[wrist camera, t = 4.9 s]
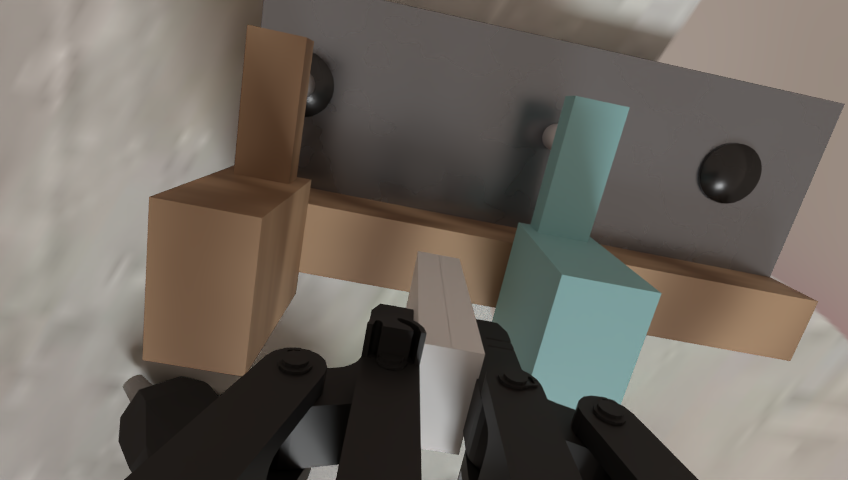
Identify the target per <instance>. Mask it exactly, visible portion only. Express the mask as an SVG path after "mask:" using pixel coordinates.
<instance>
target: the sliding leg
mask: <svg viewBox="0 0 848 480" xmlns="http://www.w3.org/2000/svg"><path fill="white" fill-rule="evenodd" d="M629 108H630V107H625V106H621V105H616V104H612V103H607V102H602V101H598V100H593V99H588V98H584V97H579V96H565V100H564V104H563V107H562V111H561V115H560V118H559V122H558V124H552V125H550V126H548V127H547V128H546V129H545V131H544V133H543V136H542V140H543V144H544V145H545V147H546V148H548V149H549V150H551V151H550V155H549V159H548V162H547V166H546V169H545V173H544V177H543V180H542V184H541V188H540V191H539V195H538V199H537V202H536V206H535V210H534V213H533V217H532V221H531V224H525V223H520V222H518V226H517V230H516V234H515V237H514V241H513V245H512V249H511V252H510V256H509V260H508V264H507V267H506V271H505V275H504V279H503V282H502V286H501V290H500V294H499V298H498V301H497V305H496V309H495V313H494V316H493V320H492V322H495V323H498V324H499V325H500V326H501V327H502V328H503V329H504V330H505V331H507V333H508V335H509V338H510V340H511V343H512V346H513V348H514V351H515V353H516V356H517V358H518V361H519V364H520V366H521V369H522V370H523V371H525V372H527V373H529V374H531V375H532V376H533V377H535V378H536V379H537V380H538V381H539V383H540V384H541V385H542V387H543V390H544V392H545V394H546V397H547V399H548V400H551V401H553V402H556V403H558V404H561V405H564V406H566V407H569V408H572V409H575V410H576V407H577V404H578V401H579V400H580V399H581V398H582V397H584V396H591V395H592V396H599V397H606V398H607V399H611V400H614V401H616V402H617V403H618V404H620V405H621V402H622V399H623V397H624V394H625V391H626V389H627V386H628V383H629V380H630V378H631V375H632V372H633V370H634V367H635V364H636V361H637V359H638V356H639V353H640V351H641V348H642V345H643V342H644V340H645V337H646V334H647V332H648V329H649V326H650V323H651V321H652V318H653V315H654V313H655V310H656V307H657V304H658V302H659V299H660V296H661V294H662V293H661V292H659V291H658V290H657V289H655V288H654V287H653V286H652V285H650V284H649V283H648V282H647V281H645V280H644V279H643V278H642V277H640V276H639V275H638V274H637V273H635V272H634V271H633V270H631V269H630V268H629V267H628V266H626V265H625V264H624V263H623V262H621V261H620V260H619V259H618V258H616V257H615V256H614V255H613V254H611V253H610V252H609V251H607V250H606V249H605V248H604V247H602V246H601V245H600V244H599V243H597V242H596V241H595V240H594V239H592V238H591V237H590V233H591V230H592V227H593V224H594V221H595V217H596V214H597V211H598V208H599V204H600V201H601V198H602V195H603V192H604V188H605V185H606V182H607V179H608V176H609V172H610V169H611V166H612V163H613V160H614V156H615V153H616V150H617V147H618V144H619V140H620V137H621V134H622V131H623V127H624V124H625V121H626V118H627V115H628V111H629Z"/></svg>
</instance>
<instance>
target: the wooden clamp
mask: <svg viewBox="0 0 848 480" xmlns="http://www.w3.org/2000/svg"><path fill="white" fill-rule="evenodd" d="M313 46H314V41H312V40H311V39H309V38H307V37H303V36H298V35H293V34H289V33H284V32H280V31H275V30H270V29H266V28H261V27H256V26H252V25H247V33H246V44H245V55H244V66H243V77H242V88H241V99H240V110H239V121H238V132H237V143H236V154H235V165H234V166H232V167H229V168H226V169H224V170H221V171H218V172H215V173H213V174H210V175H207V176H205V177H202V178H199V179H196V180H194V181H191V182H188V183H186V184H183V185H180V186H178V187H175V188H172V189H169V190H167V191H164V192H161V193H159V194H156V195H153V196H150V197H149V215H148V239H147V263H146V287H145V311H144V335H143V359H142V360H145V361H151V362H158V363H164V364H170V365H176V366H182V367H188V368H194V369H200V370H206V371H212V372H218V373H225V374H231V375H237V376H243V375H244V374H246V373H247V372H248V370H249V369H250V367H251V365H252V364H253V362H254V361H255V359H256V357H257V356H258V354H259V352H260V351H261V349H262V348H263V346H264V344H265V343H266V341H267V339H268V338H269V336H270V335H271V333H272V331H273V330H274V328H275V326H276V325H277V323H278V322H279V320H280V318H281V317H282V315H283V313H284V312H285V310H286V309H287V307H288V305H289V304H290V302H291V300H292V299H293V297H294V296H295V294H296V288H297V281H298V274H299V272H302V273H307V274H313V275H318V276H324V277H329V278H335V279H340V280H346V281H351V282H357V283H362V284H368V285H373V286H379V287H384V288H390V289H395V290H401V291H407V292H410V287H411V282H412V277H413V272H414V268H415V263H416V258H417V253H418V251H420V252H426V253H431V254H437V255H442V256H448V257H453V258H458V259H460V263H461V266H462V270H463V274H464V277H465V281H466V285H467V289H468V292H469V296H470V300H471V303H473V304H478V305H484V306H489V307H495V308H496V305H497V301H498V298H499V294H500V290H501V286H502V282H503V279H504V275H505V271H506V267H507V264H508V260H509V256H510V252H511V249H512V245H513V241H514V237H515V234H516V230H517V228H514V227H509V226H504V225H498V224H493V223H488V222H483V221H478V220H473V219H468V218H462V217H457V216H452V215H447V214H442V213H437V212H431V211H426V210H421V209H416V208H411V207H406V206H401V205H395V204H390V203H385V202H380V201H375V200H370V199H365V198H359V197H354V196H349V195H344V194H339V193H334V192H328V191H323V190H318V189H313V188H310V186H311V180H310V179H305V178H300V177H297V171H298V163H299V155H300V148H301V140H302V132H303V124H304V116H305V109H306V101H307V97H309V96H310V95H311V94H312V93H313V91H314V89H315V81H314V78H313V76H312V75H311V74H310V70H311V62H312V54H313ZM600 245H601V244H600ZM601 246H602V247H604V248H605V249H606V250H607V251H609V252H610V253H611V254H613V255H614V256H615V257H616V258H618V259H619V260H620V261H621V262H623V263H624V264H625V265H626V266H628V267H629V268H630V269H631V270H633V271H634V272H635V273H637V274H638V275H639V276H640V277H642V278H643V279H644V280H645V281H647V282H648V283H649V284H650V285H652V286H653V287H654V288H655V289H657V290H658V291H659V292H661V293H662V294H661V296H660V299H659V302H658V304H657V307H656V310H655V313H654V315H653V318H652V321H651V323H650V326H649V329H648V332H647V334H646V335H649V336H655V337H660V338H666V339H671V340H677V341H683V342H688V343H694V344H699V345H705V346H710V347H716V348H721V349H727V350H732V351H738V352H743V353H749V354H754V355H760V356H765V357H771V358H776V359H782V360H787V361H790V360H791V358H792V356H793V354H794V352H795V350H796V348H797V346H798V343H799V341H800V339H801V337H802V335H803V333H804V331H805V329H806V326H807V324H808V322H809V320H810V318H811V316H812V314H813V312H814V309H815V307H816V305H817V303H818V301H816V300H814V299H812V298H810V297H808V296H806V295H804V294H802V293H800V292H798V291H796V290H794V289H792V288H790V287H788V286H786V285H784V284H782V283H780V282H778V281H776V280H774V279H772V278H770V277H766V276H761V275H756V274H751V273H746V272H740V271H735V270H730V269H725V268H720V267H715V266H710V265H704V264H699V263H694V262H689V261H684V260H679V259H673V258H668V257H663V256H658V255H653V254H648V253H643V252H637V251H632V250H627V249H622V248H617V247H612V246H607V245H601Z"/></svg>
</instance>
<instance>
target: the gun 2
mask: <svg viewBox="0 0 848 480" xmlns="http://www.w3.org/2000/svg"><path fill="white" fill-rule="evenodd" d="M123 388H124V390H125V392H126V394H127V396H128V398H129V400H130V404H129V405H128V407H127V408H126V410H125V411H124V413H123V414H122V416H121V417H120V430H119V444H120V446H121V449H122V451H123V454H124V456H125V459H126V461H127V464H128V466H129V469H130V470H131V472H134V471H135V470H136V469H137V468H138V467H139V466H140V465H142V464H143V463H144V462H145V461H146V460H147V459H148V458H150V457H151V456H152V455H153V454H154V453H155V452H156V451H158V450H159V449H160V448H161V447H162V446H163V445H164V444H166V443H167V442H168V441H169V440H170V439H171V438H172V437H174V436H175V435H176V434H177V433H178V432H179V431H180V430H182V429H183V428H184V427H185V426H186V425H187V424H188V423H190V422H191V421H192V420H193V419H194V418H195V417H196V416H198V415H199V414H200V413H201V412H202V411H203V410H204V409H206V408H207V407H208V406H209V405H210V404H211V403H212V402H214V401H215V400H216V399H217V398H218V396H217V394H216V393H215V392H214V391H213V390H212V388H211V387H210V386H209V385H208V384H207V383H205V382H203V381H199V380H195V379H191V378H186V377H178V378H175V379H172V380H168V381H165V382H162V383H159V384H155V385H152V384H151V383H150V382H149V381H148V380H147V379H146V378H144V377H143V376H142V375H136V376H134V377H132V378H130V379H129V380H128V381H127V382H126V383H125V384H124V385H123Z"/></svg>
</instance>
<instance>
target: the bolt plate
mask: <svg viewBox="0 0 848 480" xmlns="http://www.w3.org/2000/svg"><path fill="white" fill-rule="evenodd" d="M261 28H266V29H270V30H275V31H280V32H284V33H289V34H293V35H298V36H303V37H307V38H309V39H311V40H312V41H314V46H313V54H312V62H311V70H310V74H311V75H312V76H313V78H314V81H315V89H314V91H313V93H312V94H311V95H310V96H309V97H307V101H306V109H305V116H304V124H303V132H302V140H301V148H300V155H299V163H298V171H297V177H300V178H305V179H310V180H311V186H310V188H313V189H318V190H323V191H328V192H334V193H339V194H344V195H349V196H354V197H359V198H365V199H370V200H375V201H380V202H385V203H390V204H395V205H401V206H406V207H411V208H416V209H421V210H426V211H431V212H437V213H442V214H447V215H452V216H457V217H462V218H468V219H473V220H478V221H483V222H488V223H493V224H498V225H504V226H509V227H514V228H517V226H518V222H520V223H525V224H531V221H532V217H533V213H534V210H535V206H536V202H537V199H538V195H539V191H540V188H541V184H542V180H543V177H544V173H545V169H546V166H547V162H548V159H549V155H550V151H551V150H549V149H548V148H546V147H545V145H544V144H543V140H542V136H543V133H544V131H545V129H546V128H547V127H548V126H550V125H552V124H558V122H559V118H560V115H561V111H562V107H563V104H564V100H565V96H579V97H584V98H588V99H593V100H598V101H602V102H607V103H612V104H616V105H621V106H625V107H630V108H629V111H628V115H627V118H626V121H625V124H624V127H623V131H622V134H621V137H620V140H619V144H618V147H617V150H616V153H615V156H614V160H613V163H612V166H611V169H610V172H609V176H608V179H607V182H606V185H605V188H604V192H603V195H602V198H601V201H600V204H599V208H598V211H597V214H596V217H595V221H594V224H593V227H592V230H591V233H590V237H591V238H592V239H594V240H595V241H596V242H597V243H599V244H601V245H607V246H612V247H617V248H622V249H627V250H632V251H637V252H643V253H648V254H653V255H658V256H663V257H668V258H673V259H679V260H684V261H689V262H694V263H699V264H704V265H710V266H715V267H720V268H725V269H730V270H735V271H740V272H746V273H751V274H756V275H761V276H766V277H770V275H771V273H772V271H773V268H774V266H775V263H776V261H777V259H778V256H779V254H780V252H781V250H782V248H783V245H784V243H785V241H786V238H787V236H788V234H789V231H790V229H791V227H792V224H793V222H794V220H795V217H796V215H797V213H798V210H799V208H800V206H801V203H802V201H803V198H804V197H805V194H806V192H807V190H808V187H809V185H810V183H811V181H812V178H813V176H814V174H815V171H816V169H817V167H818V164H819V162H820V160H821V157H822V155H823V153H824V150H825V148H826V146H827V144H828V141H829V139H830V137H831V134H832V132H833V129H834V127H835V125H836V122H837V120H838V118H839V115H840V113H841V111H842V109H843V106H844V104H842V103H838V102H833V101H829V100H824V99H820V98H816V97H811V96H807V95H802V94H798V93H793V92H789V91H784V90H780V89H776V88H771V87H767V86H762V85H758V84H753V83H749V82H745V81H740V80H736V79H731V78H726V77H722V76H718V75H713V74H709V73H704V72H700V71H696V70H691V69H687V68H682V67H678V66H673V65H669V64H664V63H660V62H656V61H651V60H647V59H642V58H638V57H634V56H629V55H625V54H620V53H616V52H611V51H607V50H602V49H598V48H594V47H589V46H585V45H580V44H576V43H571V42H567V41H562V40H558V39H554V38H549V37H545V36H540V35H536V34H531V33H527V32H522V31H518V30H514V29H509V28H505V27H500V26H496V25H491V24H487V23H482V22H478V21H474V20H469V19H465V18H460V17H456V16H451V15H447V14H443V13H438V12H434V11H429V10H425V9H420V8H416V7H411V6H407V5H403V4H398V3H394V2H389V1H385V0H264V2H263V12H262V22H261Z"/></svg>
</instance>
